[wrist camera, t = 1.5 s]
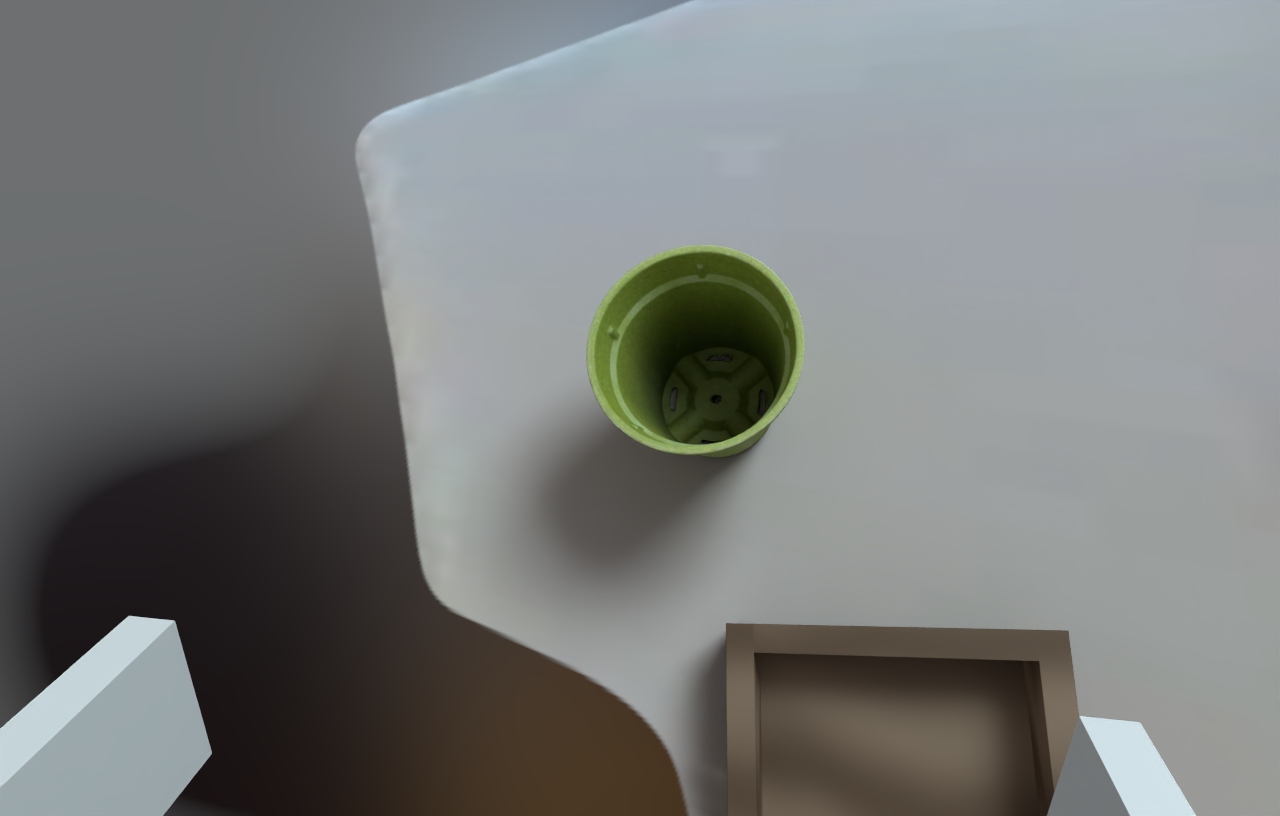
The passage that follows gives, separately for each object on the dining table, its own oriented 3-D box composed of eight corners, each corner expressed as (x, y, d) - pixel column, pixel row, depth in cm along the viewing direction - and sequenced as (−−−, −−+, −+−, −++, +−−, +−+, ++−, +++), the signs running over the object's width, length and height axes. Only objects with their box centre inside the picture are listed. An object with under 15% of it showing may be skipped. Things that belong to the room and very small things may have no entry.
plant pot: (811, 316, 41) (805, 238, 33) (809, 492, 38) (803, 455, 30) (640, 321, 43) (595, 249, 35) (627, 487, 41) (577, 452, 33)
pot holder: (735, 624, 38) (726, 623, 34) (1045, 630, 34) (1068, 630, 31) (739, 952, 34) (728, 986, 30) (1088, 993, 31) (1119, 1036, 27)
